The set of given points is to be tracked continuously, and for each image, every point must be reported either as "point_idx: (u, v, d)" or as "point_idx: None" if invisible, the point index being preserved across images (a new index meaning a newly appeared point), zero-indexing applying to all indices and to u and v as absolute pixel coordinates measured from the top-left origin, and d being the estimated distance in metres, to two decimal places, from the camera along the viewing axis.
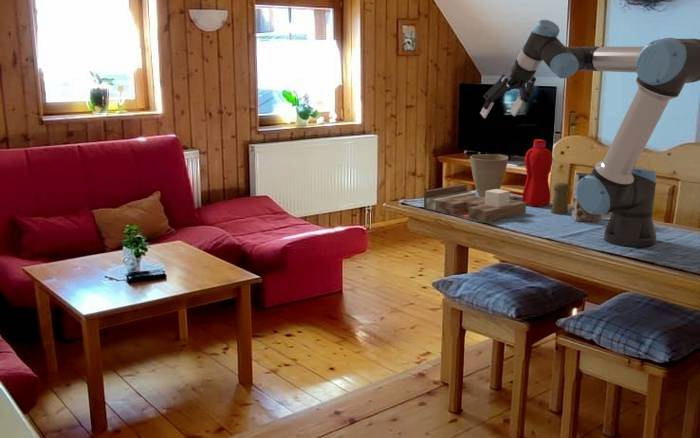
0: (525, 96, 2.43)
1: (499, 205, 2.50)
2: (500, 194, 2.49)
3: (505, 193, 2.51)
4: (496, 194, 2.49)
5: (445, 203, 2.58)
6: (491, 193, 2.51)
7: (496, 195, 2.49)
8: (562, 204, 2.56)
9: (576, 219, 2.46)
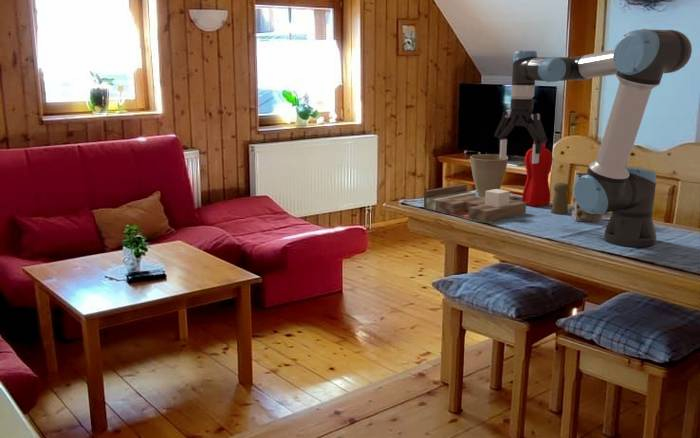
0: (534, 137, 2.35)
1: (499, 205, 2.50)
2: (500, 194, 2.49)
3: (505, 193, 2.51)
4: (496, 194, 2.49)
5: (445, 203, 2.58)
6: (491, 193, 2.51)
7: (496, 195, 2.49)
8: (562, 204, 2.56)
9: (576, 219, 2.46)
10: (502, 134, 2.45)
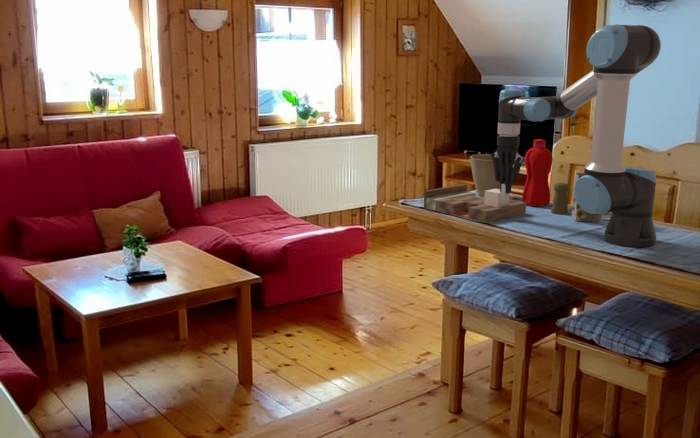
0: (507, 177, 2.47)
1: (498, 205, 2.50)
2: (499, 194, 2.49)
3: None
4: (495, 194, 2.49)
5: (445, 203, 2.58)
6: (490, 193, 2.51)
7: (495, 195, 2.49)
8: (562, 204, 2.56)
9: (576, 219, 2.46)
10: (501, 177, 2.49)
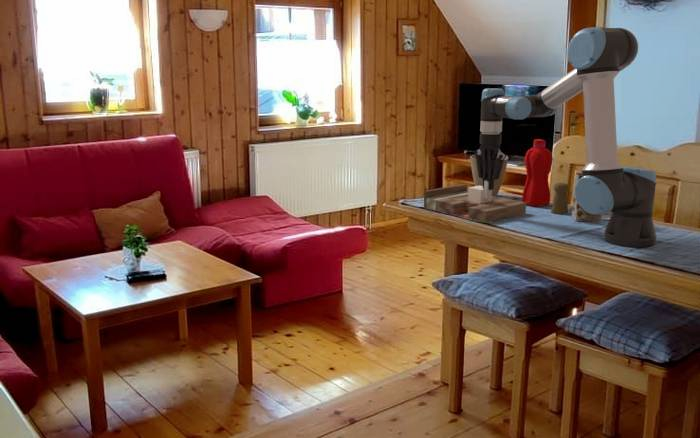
0: (489, 174, 2.52)
1: (481, 201, 2.56)
2: (482, 190, 2.55)
3: None
4: (478, 190, 2.55)
5: (445, 203, 2.58)
6: (474, 190, 2.57)
7: (478, 191, 2.55)
8: (562, 204, 2.56)
9: (576, 219, 2.46)
10: (484, 173, 2.54)
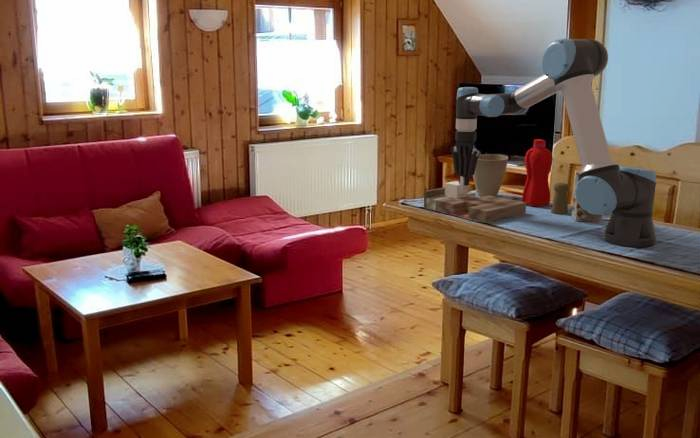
0: (465, 170, 2.61)
1: (458, 196, 2.64)
2: (458, 186, 2.63)
3: None
4: (455, 186, 2.64)
5: (445, 203, 2.58)
6: (450, 185, 2.65)
7: (455, 187, 2.64)
8: (562, 204, 2.56)
9: (576, 219, 2.46)
10: (460, 169, 2.63)
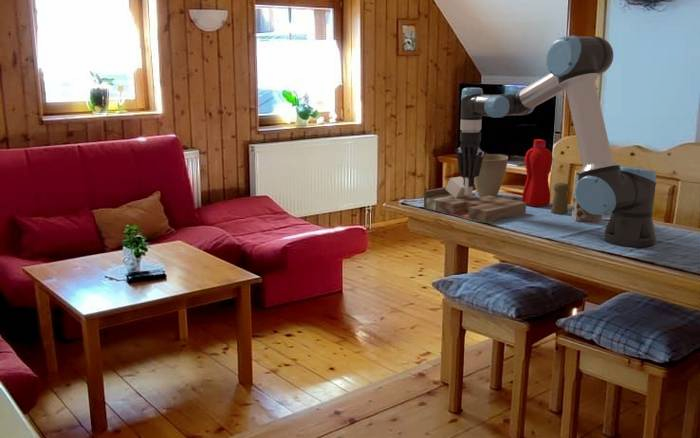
0: (469, 171, 2.59)
1: (457, 196, 2.64)
2: (461, 188, 2.62)
3: None
4: (458, 187, 2.62)
5: (445, 203, 2.58)
6: (454, 183, 2.64)
7: (458, 187, 2.63)
8: (562, 204, 2.56)
9: (576, 219, 2.46)
10: (464, 171, 2.61)
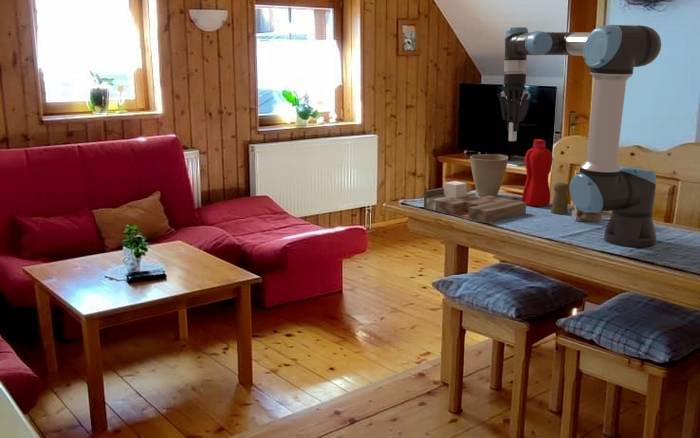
0: (514, 115, 2.49)
1: (457, 196, 2.65)
2: (457, 186, 2.64)
3: (462, 185, 2.66)
4: (454, 186, 2.64)
5: (445, 203, 2.58)
6: (449, 185, 2.66)
7: (454, 187, 2.64)
8: (562, 204, 2.56)
9: (576, 219, 2.46)
10: (508, 115, 2.51)
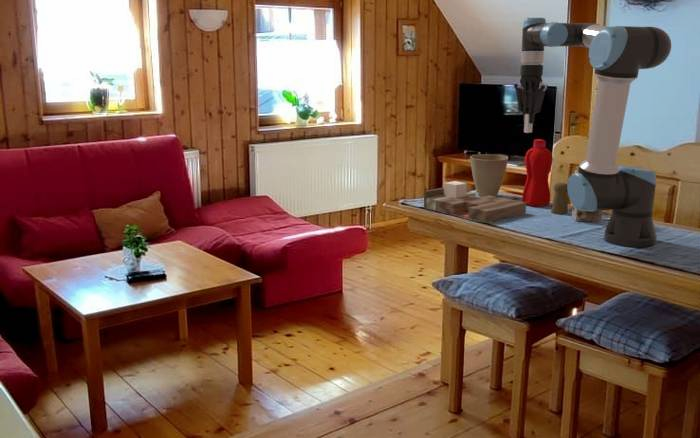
0: (530, 106, 2.47)
1: (457, 196, 2.65)
2: (457, 186, 2.64)
3: (462, 185, 2.66)
4: (454, 186, 2.64)
5: (445, 203, 2.58)
6: (449, 185, 2.66)
7: (454, 187, 2.64)
8: (562, 204, 2.56)
9: (576, 219, 2.46)
10: (524, 107, 2.49)
